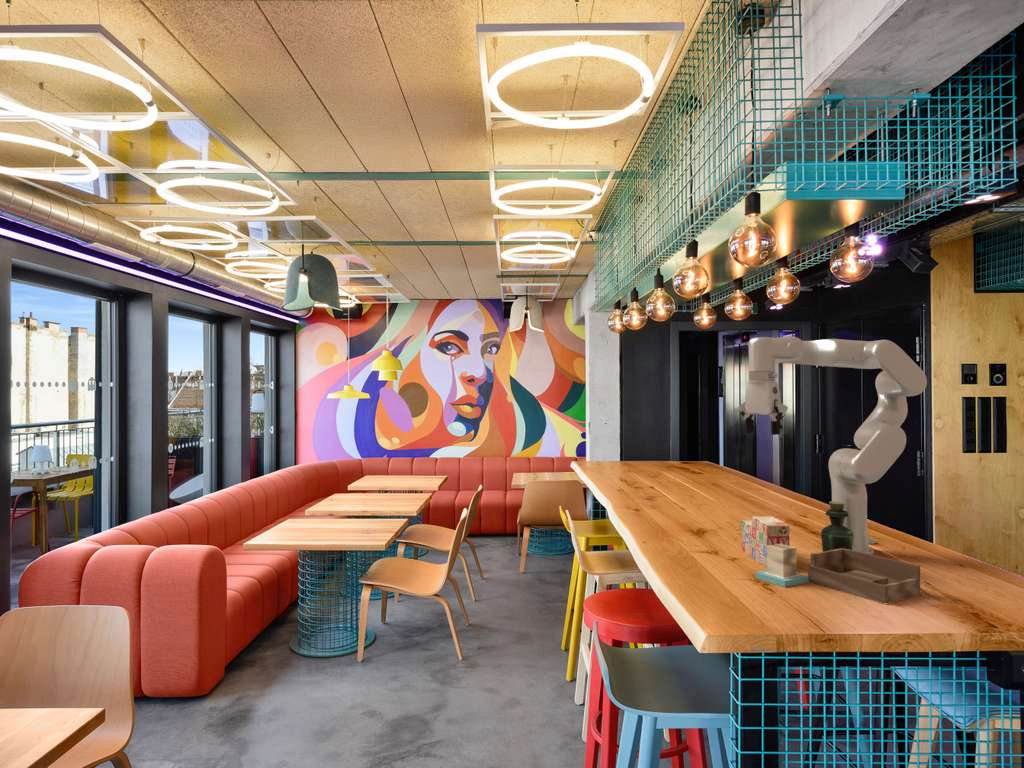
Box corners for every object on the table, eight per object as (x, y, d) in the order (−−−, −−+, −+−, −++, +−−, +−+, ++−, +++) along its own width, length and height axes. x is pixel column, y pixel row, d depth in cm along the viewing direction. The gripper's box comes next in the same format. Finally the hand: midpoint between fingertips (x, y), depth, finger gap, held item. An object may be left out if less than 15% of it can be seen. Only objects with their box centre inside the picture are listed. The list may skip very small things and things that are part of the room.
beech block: (780, 570, 167) (780, 543, 167) (796, 575, 162) (796, 547, 162) (767, 572, 164) (767, 545, 164) (783, 577, 160) (783, 549, 160)
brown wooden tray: (842, 574, 169) (842, 548, 169) (920, 595, 151) (920, 565, 151) (808, 581, 162) (807, 554, 162) (885, 604, 144) (885, 573, 144)
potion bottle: (815, 563, 179) (815, 500, 180) (843, 563, 179) (843, 500, 180) (830, 571, 171) (829, 505, 172) (859, 571, 171) (859, 505, 172)
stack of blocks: (741, 550, 195) (741, 510, 196) (761, 550, 195) (761, 510, 195) (767, 569, 174) (766, 524, 174) (790, 569, 174) (789, 524, 174)
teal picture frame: (778, 573, 169) (778, 567, 169) (808, 582, 161) (808, 575, 161) (755, 577, 165) (755, 571, 165) (784, 587, 157) (784, 580, 157)
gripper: (794, 377, 187) (794, 434, 186) (747, 378, 202) (748, 431, 202) (777, 376, 183) (777, 435, 183) (731, 378, 198) (731, 432, 198)
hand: (762, 433), depth 192 cm, fingers open, 9 cm apart
